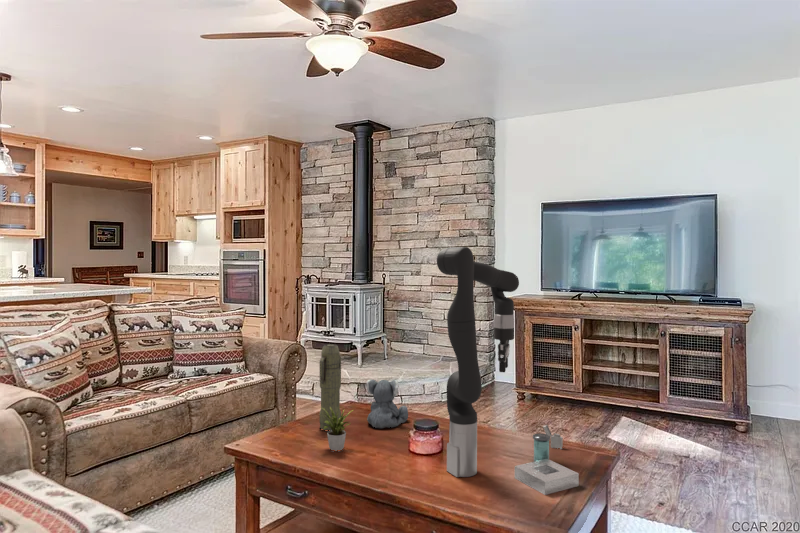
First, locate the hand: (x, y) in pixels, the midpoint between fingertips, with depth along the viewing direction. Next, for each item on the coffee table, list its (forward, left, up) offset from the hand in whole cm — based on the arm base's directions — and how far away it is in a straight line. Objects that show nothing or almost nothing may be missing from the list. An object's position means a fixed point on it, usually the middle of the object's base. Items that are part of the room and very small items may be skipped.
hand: (503, 369), depth 200 cm
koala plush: (-25, +49, -30) cm, 63 cm away
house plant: (-56, +30, -30) cm, 70 cm away
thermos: (-48, +54, -30) cm, 78 cm away
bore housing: (-6, -29, -30) cm, 42 cm away
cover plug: (+5, -15, -30) cm, 34 cm away
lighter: (+19, -6, -30) cm, 36 cm away
